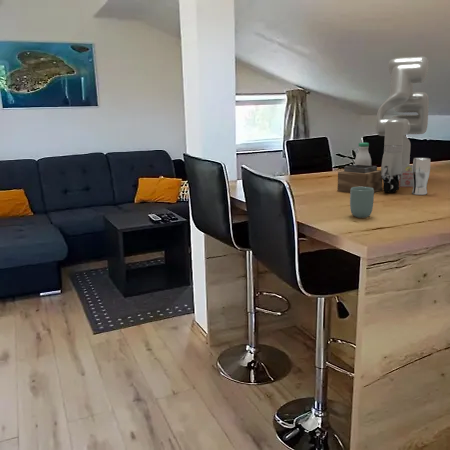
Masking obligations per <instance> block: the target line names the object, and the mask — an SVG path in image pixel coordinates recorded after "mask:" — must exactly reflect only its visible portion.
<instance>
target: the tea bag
mask: <svg viewBox="0 0 450 450" xmlns="http://www.w3.org/2000/svg"><path fill="white" fill-rule="evenodd" d="M412 168H413V164H409V165H402V173H401V176H400V181H399V188H413V174H412Z"/></svg>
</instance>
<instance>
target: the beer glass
mask: <svg viewBox="0 0 450 450" xmlns="http://www.w3.org/2000/svg"><path fill="white" fill-rule="evenodd" d="M412 162H413V163H412V165H413V168H412V174H413V187H412V191H411V194H412V195H414V196H426V194H427V195H428V189H427V187H428V182H429V181H428V180H429V178H430V173H431V158H429V157H413V161H412Z"/></svg>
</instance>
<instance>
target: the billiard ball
mask: <svg viewBox="0 0 450 450" xmlns="http://www.w3.org/2000/svg"><path fill="white" fill-rule="evenodd" d="M390 183H391V192H388V193H390V194H392V193H395V192H397V191H398V190H397V189H398V186H399V185H398V182H397V181H396V180H395V179H391V181H390Z"/></svg>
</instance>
